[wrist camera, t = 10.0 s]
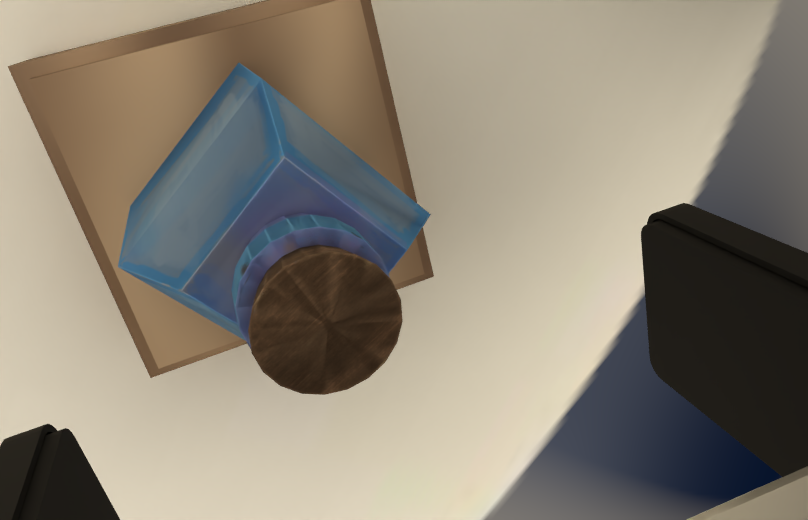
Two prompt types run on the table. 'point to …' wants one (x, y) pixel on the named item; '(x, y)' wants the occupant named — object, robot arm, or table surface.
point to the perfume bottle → (276, 238)
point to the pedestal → (177, 110)
